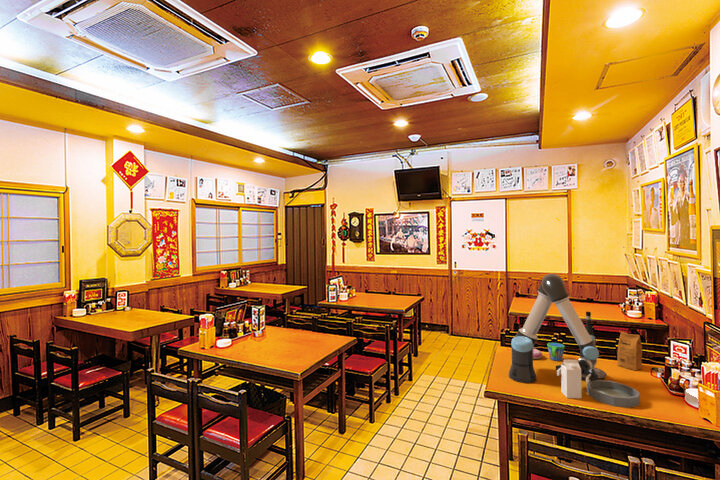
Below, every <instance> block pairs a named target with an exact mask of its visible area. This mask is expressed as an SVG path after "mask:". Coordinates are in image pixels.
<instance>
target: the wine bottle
mask: <svg viewBox="0 0 720 480" xmlns="http://www.w3.org/2000/svg"><path fill="white" fill-rule="evenodd" d="M591 315H592V312H591V311H585V316H586V317H585V319H586V320H585V323H586V324H585V326H584V327H585V328H586V330H587V332H588V334H589V335H592V336H594V337H595V338H596V336H595V332H594V330H593V328H592V322H591V321H592V320H591V319H592V316H591Z"/></svg>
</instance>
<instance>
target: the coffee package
mask: <svg viewBox="0 0 720 480" xmlns="http://www.w3.org/2000/svg"><path fill="white" fill-rule="evenodd" d="M618 339H619V340H618V344H617V357H616V358H617V366H618V367H621V368H624V369H627V370H631V371H638V370H640V369H642V368H643V362H642V361H643V360H642V358H643V344H642V340H641V334H632V333H627V332H626V331H625V332H624V331H620V335H619V338H618Z"/></svg>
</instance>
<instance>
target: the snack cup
mask: <svg viewBox="0 0 720 480" xmlns="http://www.w3.org/2000/svg"><path fill="white" fill-rule="evenodd" d="M565 347H566V346H565V345H564V344H562V343H559V342H548V343H547V350H548V355H549V358H550V360H551V361H552V360H553V361H557V362H561V361H562V360H564V359H563V358H564V351H565V349H566V348H565Z"/></svg>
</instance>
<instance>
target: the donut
mask: <svg viewBox="0 0 720 480" xmlns="http://www.w3.org/2000/svg"><path fill="white" fill-rule="evenodd" d="M542 357H543V352H542V351H540V350H539V349H537V348H533V360H540V359H541V358H542Z"/></svg>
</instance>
